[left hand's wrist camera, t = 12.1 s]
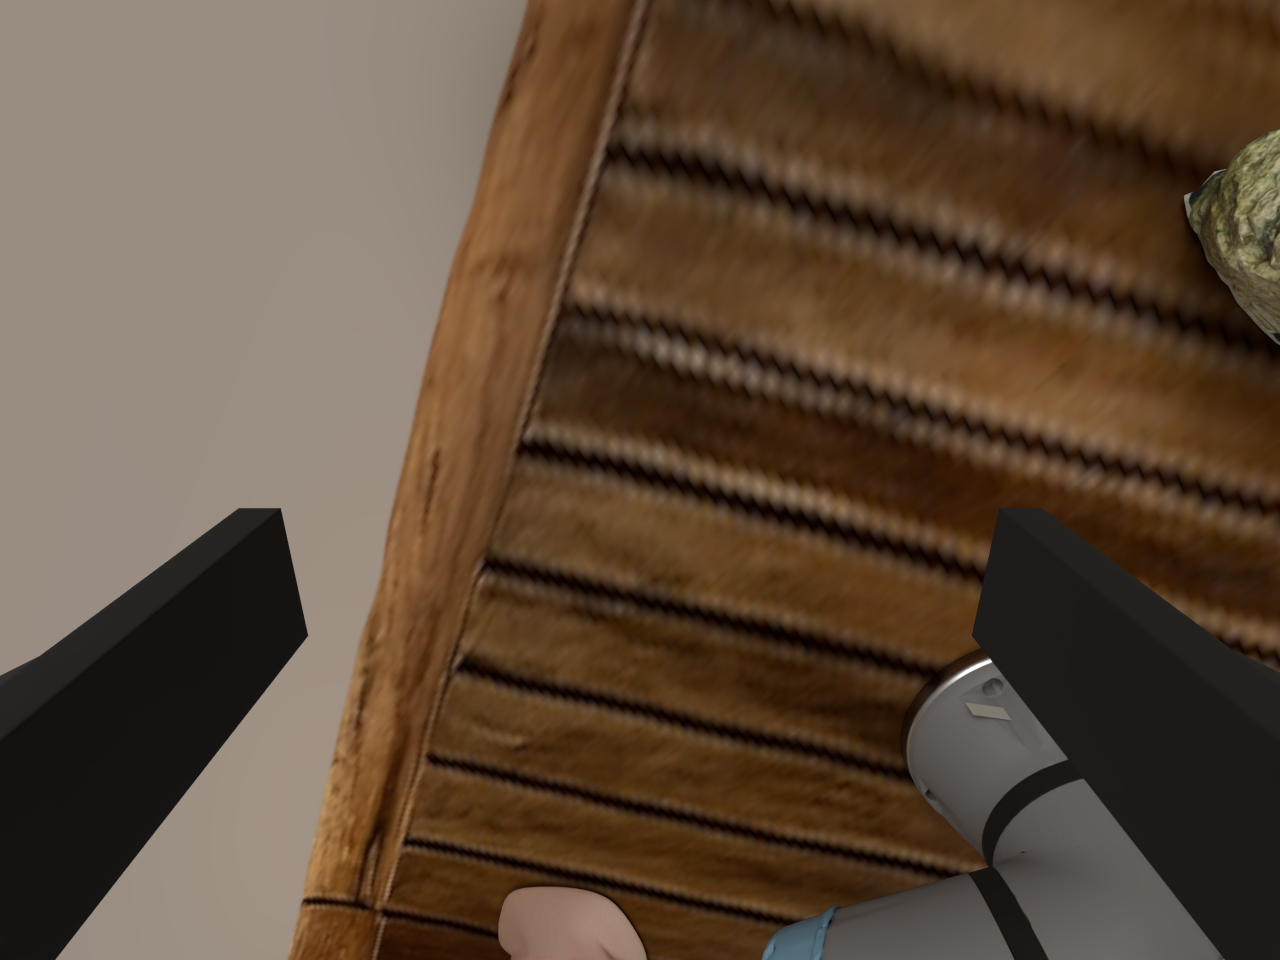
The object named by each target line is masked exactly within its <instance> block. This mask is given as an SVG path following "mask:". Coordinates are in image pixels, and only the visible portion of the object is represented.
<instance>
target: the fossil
mask: <svg viewBox="0 0 1280 960" xmlns="http://www.w3.org/2000/svg"><path fill="white" fill-rule="evenodd" d="M1184 201H1185V206H1186V212H1187V216H1188V219H1189V223H1190V226H1191V227H1192V229H1193V230H1194V231H1195V232H1196V233H1197V235H1198V237H1199V239H1200V241H1201V243H1202V246H1203V248H1204V251H1205V255H1206V258H1207V261H1208V262H1209V263H1210V264H1211V265H1212V267H1214V268H1215V270H1216V272H1217V273H1218V275H1219V277H1220V279H1221V280H1222V281H1223V282H1225V283H1226V284H1227V285H1228V286H1229V288H1230V290H1231V292H1232V294H1233V296H1234V298H1235V300H1236V302H1237V303H1238V304H1239V305H1240V306H1241V307H1242V309H1243V310H1244V311H1245V312H1246V313H1247V314H1248V315H1249V316H1250V317H1251V318H1252V320H1253V321H1254V322H1255V323H1256V324H1257V325H1258V326H1259V327H1260V328H1261V329H1262V330H1263V331H1264V332H1265V333H1266V334H1267V335H1268V336H1269V337H1271V338H1272V339H1273V340H1274V341H1275V342H1276V343H1278V344H1279V345H1280V129H1278V130H1274V131H1270V132H1268V133H1266V134H1265V135H1263V136H1261V137H1259V138H1258V139H1256V140H1254V141H1253V142H1251V143H1249V144H1248V145H1246V146H1244V147H1243V148H1242V149H1241V150H1240V151H1239V152H1238V153H1237V154H1236V155H1235V156H1234V157H1232V158H1231V160H1230V162H1229V164H1228V167H1227V169H1224V170H1219V171H1215V172H1214V173H1213V174H1212V175H1211V176H1210V177H1209V178H1208V179H1207V180H1206V181H1205V183H1204V184H1203V185H1202V186H1201V187H1200V188H1199V190H1197V191H1194V192H1192V193H1189V194H1187V195H1185V196H1184Z"/></svg>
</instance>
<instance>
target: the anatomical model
mask: <svg viewBox="0 0 1280 960" xmlns="http://www.w3.org/2000/svg"><path fill="white" fill-rule="evenodd" d="M499 941H500V944H501V946H502V947H503V948H504V950H505V951H506V952H508V953H509V954H510V955H511V956H512V957H511V960H647V958H646V953H645V950H644V947H643V945H642V943H641V941H640V939H639V937H638V935H637V933H636V931H635V930H634V928H633V927H632V925H631V924H630V922H629V920H628V919H627V918H626V916H625V915H624V914H623V913H622V911H621V910H620V909H619V908H618V907H617V906H616V905H615V904H614V903H613V902H612V901H610V900H609V899H607V898H606V897H604V896H602V895H600V894H597V893H595V892H591V891H588V890H583V889H577V888H568V887H527V888H522V889H518V890H515V891H513V892H511V893H510V894H509V895H508V896H507V898H506V899H505V901H504V904H503V906H502V910H501V915H500V919H499Z"/></svg>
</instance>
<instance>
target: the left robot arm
mask: <svg viewBox="0 0 1280 960" xmlns="http://www.w3.org/2000/svg"><path fill="white" fill-rule="evenodd" d="M307 636H308V633H307V628H306V624H305V619H304V614H303V610H302V605H301V600H300V596H299V591H298V587H297V582H296V577H295V573H294V568H293V563H292V559H291V554H290V549H289V545H288V540H287V535H286V531H285V526H284V521H283V517H282V512H281V508H239V509H237V510H236V511H235V512H233V513H232V514H231V515H229V516H228V517H226V518H225V519H224V520H222V521H221V522H220V523H218V524H217V525H216V526H214V527H213V528H212V529H210V530H209V531H208V532H206V533H205V534H204V535H202V536H201V537H200V538H198V539H197V540H195V541H194V542H193V543H191V544H190V545H189V546H187V547H186V548H185V549H183V550H182V551H181V552H179V553H178V554H177V555H175V556H174V557H173V558H171V559H170V560H169V561H167V562H166V563H164V564H163V565H162V566H160V567H159V568H158V569H156V570H155V571H154V572H152V573H151V574H150V575H148V576H147V577H146V578H144V579H143V580H142V581H140V582H139V583H138V584H136V585H135V586H134V587H132V588H131V589H130V590H128V591H127V592H125V593H124V594H123V595H121V596H120V597H119V598H117V599H116V600H115V601H113V602H112V603H111V604H109V605H108V606H107V607H105V608H104V609H103V610H101V611H100V612H99V613H97V614H96V615H95V616H93V617H92V618H90V619H89V620H88V621H86V622H85V623H84V624H82V625H81V626H80V627H78V628H77V629H76V630H74V631H73V632H72V633H70V634H69V635H68V636H66V637H65V638H63V639H62V640H61V641H59V642H58V643H57V644H55V645H54V646H53V647H51V648H50V649H49V650H47V651H46V652H45V653H43V654H42V655H41V656H39V657H37V658H35V659H33V660H31V661H29V662H27V663H25V664H23V665H21V666H19V667H17V668H15V669H13V670H11V671H9V672H7V673H5V674H3V675H1V676H0V960H55V959H56V958H57V957H58V955H59V954H60V953H61V952H62V950H63V949H64V948H65V947H66V945H67V944H68V943H69V941H70V940H71V939H72V938H73V936H74V935H75V934H76V932H77V931H78V930H79V929H80V927H81V926H82V925H83V923H84V922H85V921H86V920H87V918H88V917H89V916H90V915H91V913H92V912H93V911H94V909H95V908H96V907H97V906H98V904H99V903H100V902H101V900H102V899H103V898H104V897H105V895H106V894H107V893H108V891H109V890H110V889H111V888H112V886H113V885H114V884H115V882H116V881H117V880H118V879H119V877H120V876H121V875H122V874H123V872H124V871H125V870H126V868H127V867H128V866H129V865H130V863H131V862H132V861H133V859H134V858H135V857H136V856H137V854H138V853H139V852H140V850H141V849H142V848H143V847H144V845H145V844H146V843H147V841H148V840H149V839H150V838H151V836H152V835H153V834H154V832H155V831H156V830H157V829H158V827H159V826H160V825H161V824H162V822H163V821H164V820H165V818H166V817H167V816H168V815H169V813H170V812H171V811H172V809H173V808H174V807H175V805H176V804H177V803H178V802H179V800H180V799H181V798H182V797H183V795H184V794H185V793H186V791H187V790H188V789H189V788H190V786H191V785H192V784H193V783H194V781H195V780H196V779H197V777H198V776H199V775H200V774H201V772H202V771H203V770H204V768H205V767H206V766H207V765H208V763H209V762H210V761H211V759H212V758H213V757H214V756H215V754H216V753H217V752H218V751H219V749H220V748H221V747H222V745H223V744H224V743H225V742H226V740H227V739H228V738H229V736H230V735H231V734H232V733H233V731H234V730H235V729H236V727H237V726H238V725H239V724H240V722H241V721H242V720H243V718H244V717H245V716H246V715H247V713H248V712H249V711H250V710H251V708H252V707H253V706H254V704H255V703H256V702H257V701H258V699H259V698H260V697H261V695H262V694H263V693H264V692H265V690H266V689H267V688H268V686H269V685H270V684H271V683H272V681H273V680H274V679H275V677H276V676H277V675H278V674H279V672H280V671H281V670H282V669H283V667H284V666H285V665H286V663H287V662H288V661H289V660H290V658H291V657H292V656H293V654H294V653H295V652H296V650H297V649H298V648H299V647H300V645H301V644H302V643H303V642H304V640H305V639H306V638H307ZM972 636H973V638H974V639H975V640H976V642H977V643H978V644H979V645H980V647H981V649H978V650H976V651H973V652H971V653H969V654H967V655H965V656H963V657H961V658H959V659H957V660H956V661H954V662H952V663H951V664H949V665H948V666H946V667H945V668H944V669H942V670H941V671H940V672H938V673H937V674H936V675H935V676H934V677H933V678H932V679H931V680H930V681H929V682H928V683H927V684H926V685H925V686H924V687H923V688H922V689H921V690H920V692H919V693H918V694H917V696H916V697H915V699H914V700H913V702H912V704H911V706H910V707H909V709H908V712H907V714H906V716H905V719H904V723H903V726H902V732H901V750H902V755H903V759H904V761H905V764H906V766H907V769H908V771H909V773H910V775H911V777H912V779H913V781H914V783H915V785H916V787H917V788H918V790H919V791H920V793H921V794H922V795H923V796H924V798H925V799H926V800H927V802H928V803H929V804H930V805H931V806H932V807H933V808H934V809H935V810H936V811H937V812H938V813H939V814H941V815H942V816H943V817H944V818H945V819H946V820H947V822H948V823H949V824H950V825H951V826H952V827H953V828H954V829H955V830H956V831H957V832H958V833H959V834H960V835H961V836H962V837H963V838H964V839H965V840H966V841H967V842H968V843H969V844H970V845H971V846H972V847H973V848H975V849H976V850H977V851H978V852H979V853H980V854H981V855H982V856H983V858H984V860H985V862H986V863H987V865H988V868H984V869H981V870H977V871H974V872H970V873H965V874H962V875H958V876H954V877H951V878H947V879H944V880H940V881H937V882H933V883H929V884H926V885H922V886H919V887H915V888H912V889H908V890H904V891H901V892H897V893H894V894H890V895H887V896H883V897H879V898H876V899H872V900H869V901H865V902H861V903H858V904H854V905H851V906H847V907H843V908H842V907H841V906H840V905H836V906H832V907H830V908H828V909H827V911H826V912H825V913H823V914H820V915H817V916H814V917H811V918H809V919H806V920H803V921H800V922H797V923H795V924H792V925H789V926H786V927H784V928H782V929H780V930H779V931H778V932H776V933H775V935H774V936H773V937H772V938H771V939H770V941H769V942H768V944H767V946H766V949H765V951H764V954H763V957H762V960H1280V673H1279V672H1277V671H1275V670H1273V669H1271V668H1269V667H1267V666H1265V665H1263V664H1261V663H1259V662H1257V661H1255V660H1253V659H1251V658H1249V657H1247V656H1245V655H1243V654H1241V653H1239V652H1234V651H1233V650H1231V649H1230V648H1229V647H1227V646H1226V645H1225V644H1223V643H1222V642H1221V641H1219V640H1218V639H1217V638H1215V637H1214V636H1212V635H1211V634H1210V633H1208V632H1207V631H1206V630H1204V629H1203V628H1202V627H1200V626H1199V625H1198V624H1196V623H1195V622H1194V621H1192V620H1191V619H1190V618H1188V617H1187V616H1186V615H1184V614H1183V613H1182V612H1180V611H1179V610H1177V609H1176V608H1175V607H1173V606H1172V605H1171V604H1169V603H1168V602H1167V601H1165V600H1164V599H1163V598H1161V597H1160V596H1159V595H1157V594H1156V593H1155V592H1153V591H1152V590H1151V589H1149V588H1148V587H1146V586H1145V585H1144V584H1142V583H1141V582H1140V581H1138V580H1137V579H1136V578H1134V577H1133V576H1132V575H1130V574H1129V573H1128V572H1126V571H1125V570H1124V569H1122V568H1121V567H1120V566H1118V565H1117V564H1115V563H1114V562H1113V561H1111V560H1110V559H1109V558H1107V557H1106V556H1105V555H1103V554H1102V553H1101V552H1099V551H1098V550H1097V549H1095V548H1094V547H1093V546H1091V545H1090V544H1089V543H1087V542H1086V541H1085V540H1083V539H1082V538H1080V537H1079V536H1078V535H1076V534H1075V533H1074V532H1072V531H1071V530H1070V529H1068V528H1067V527H1066V526H1064V525H1063V524H1062V523H1060V522H1059V521H1058V520H1056V519H1055V518H1054V517H1052V516H1051V515H1049V514H1048V513H1047V512H1045V511H1044V510H1043V509H1041V508H999V512H998V517H997V521H996V526H995V531H994V535H993V540H992V545H991V549H990V554H989V559H988V563H987V568H986V573H985V577H984V582H983V587H982V591H981V596H980V600H979V605H978V610H977V614H976V619H975V624H974V628H973V633H972Z"/></svg>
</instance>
